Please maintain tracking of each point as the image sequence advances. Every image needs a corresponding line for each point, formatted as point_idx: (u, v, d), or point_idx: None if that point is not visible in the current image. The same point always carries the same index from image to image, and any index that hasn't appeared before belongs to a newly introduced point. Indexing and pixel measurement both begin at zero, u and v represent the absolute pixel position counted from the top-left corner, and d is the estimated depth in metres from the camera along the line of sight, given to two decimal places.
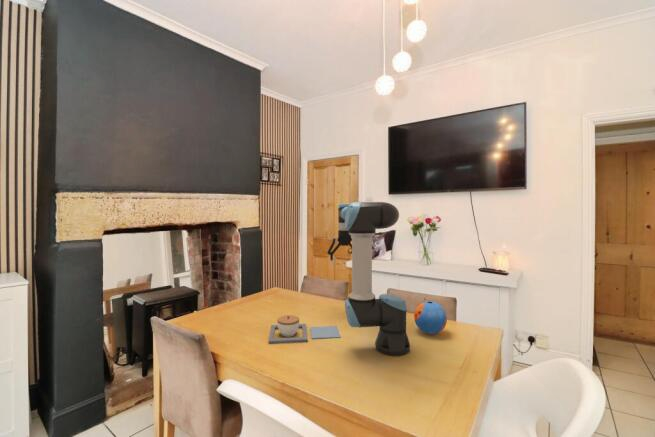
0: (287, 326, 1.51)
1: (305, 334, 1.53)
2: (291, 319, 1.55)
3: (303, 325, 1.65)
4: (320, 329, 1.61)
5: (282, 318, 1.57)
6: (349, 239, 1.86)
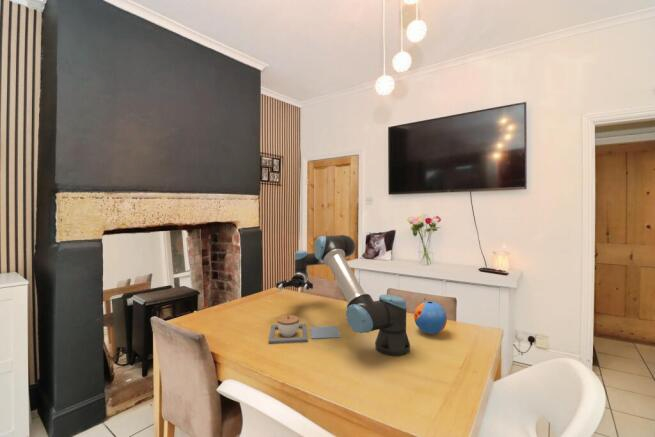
0: (288, 326, 1.51)
1: (305, 334, 1.53)
2: (291, 319, 1.55)
3: (303, 325, 1.65)
4: (320, 329, 1.61)
5: (282, 318, 1.57)
6: (301, 280, 1.81)
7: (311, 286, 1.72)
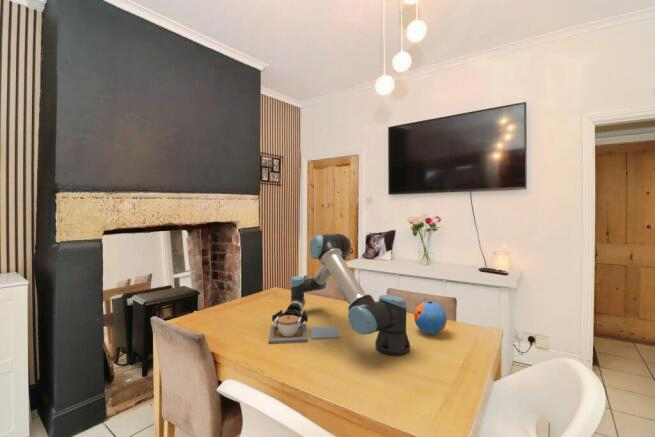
0: (287, 326, 1.51)
1: (305, 334, 1.53)
2: (291, 319, 1.55)
3: (303, 325, 1.65)
4: (320, 329, 1.61)
5: (282, 318, 1.57)
6: (297, 310, 1.68)
7: (305, 319, 1.59)
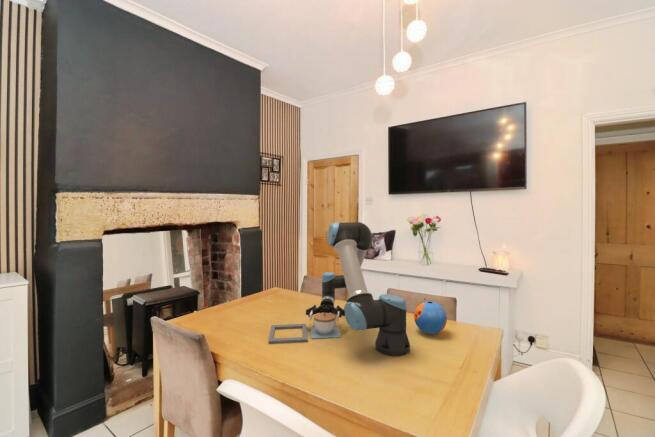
0: (325, 323, 1.53)
1: (305, 334, 1.53)
2: (327, 316, 1.57)
3: (303, 325, 1.65)
4: None
5: (318, 315, 1.59)
6: (331, 306, 1.70)
7: (343, 313, 1.61)
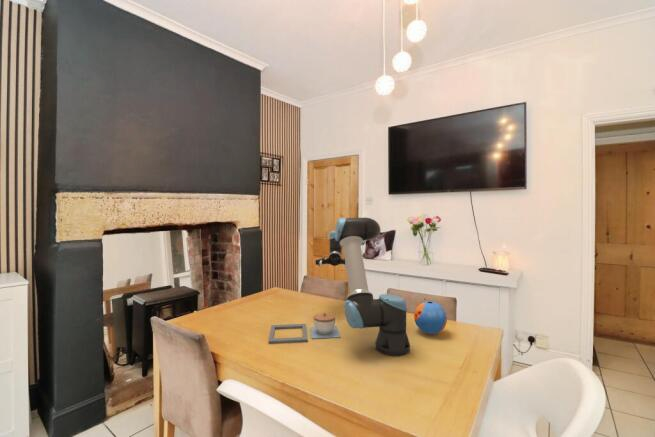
0: (325, 323, 1.53)
1: (305, 334, 1.53)
2: (327, 316, 1.57)
3: (303, 325, 1.65)
4: None
5: (318, 315, 1.59)
6: (339, 258, 1.83)
7: None
